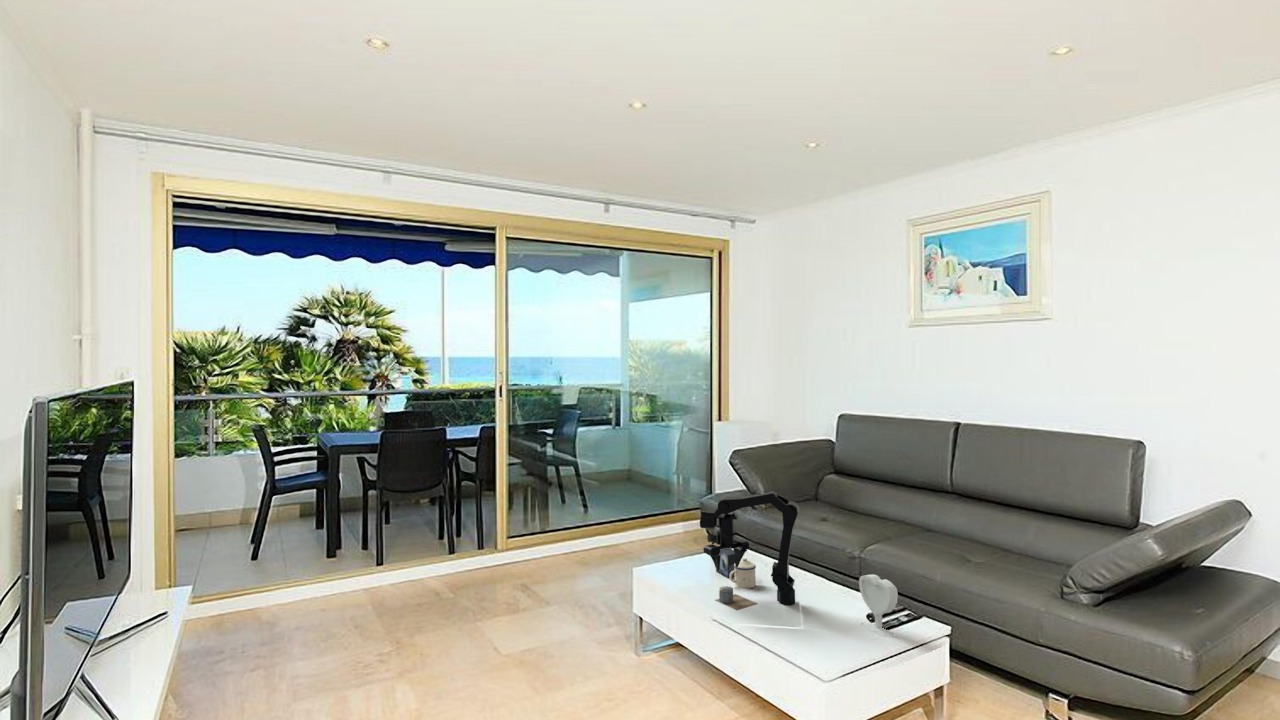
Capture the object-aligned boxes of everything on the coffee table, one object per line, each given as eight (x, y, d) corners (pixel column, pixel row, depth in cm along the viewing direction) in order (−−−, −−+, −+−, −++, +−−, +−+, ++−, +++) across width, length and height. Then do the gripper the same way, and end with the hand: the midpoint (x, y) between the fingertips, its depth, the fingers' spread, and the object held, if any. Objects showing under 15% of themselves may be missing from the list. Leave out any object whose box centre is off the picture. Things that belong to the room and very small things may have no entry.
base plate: (758, 605, 262) (758, 595, 262) (737, 612, 256) (736, 602, 256) (735, 596, 273) (735, 586, 273) (714, 602, 267) (714, 592, 267)
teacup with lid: (747, 581, 291) (747, 554, 290) (760, 587, 282) (760, 559, 282) (724, 585, 285) (723, 558, 285) (736, 592, 277) (735, 564, 277)
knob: (727, 597, 269) (727, 584, 269) (735, 601, 265) (735, 587, 265) (716, 600, 267) (716, 586, 267) (725, 604, 262) (725, 590, 262)
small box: (715, 571, 304) (714, 548, 304) (727, 569, 307) (726, 546, 307) (727, 578, 294) (727, 554, 294) (740, 576, 297) (740, 552, 297)
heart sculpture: (858, 622, 244) (857, 572, 244) (869, 620, 246) (868, 570, 246) (888, 639, 230) (887, 586, 229) (900, 636, 231) (899, 584, 231)
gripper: (733, 522, 281) (734, 559, 282) (695, 528, 272) (696, 567, 273) (750, 527, 272) (750, 566, 272) (711, 534, 263) (712, 575, 263)
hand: (727, 568), depth 270 cm, fingers open, 9 cm apart
